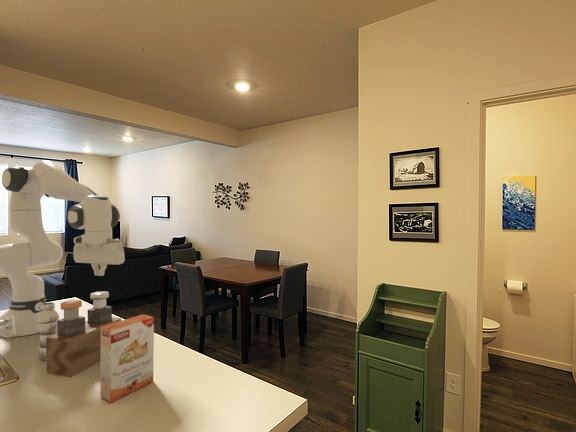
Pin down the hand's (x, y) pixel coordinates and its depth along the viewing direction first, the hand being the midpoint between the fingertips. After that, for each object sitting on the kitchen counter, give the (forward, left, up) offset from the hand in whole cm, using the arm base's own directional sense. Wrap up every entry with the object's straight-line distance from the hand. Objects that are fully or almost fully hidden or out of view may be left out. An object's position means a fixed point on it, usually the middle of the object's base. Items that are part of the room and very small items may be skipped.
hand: (99, 275), depth 124 cm
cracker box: (+28, -18, -30) cm, 45 cm away
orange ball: (0, -12, -13) cm, 18 cm away
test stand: (0, -6, -29) cm, 30 cm away
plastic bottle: (-14, -8, -30) cm, 34 cm away
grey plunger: (0, 0, -13) cm, 13 cm away
